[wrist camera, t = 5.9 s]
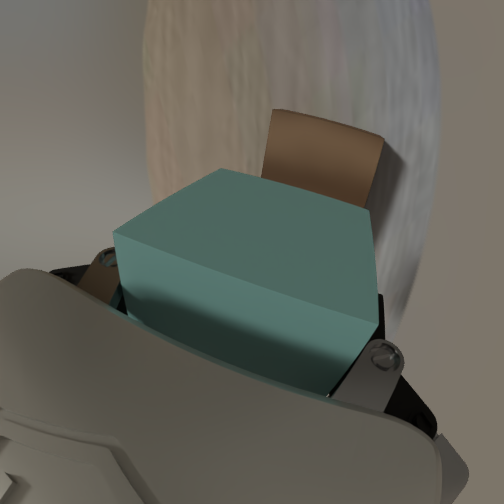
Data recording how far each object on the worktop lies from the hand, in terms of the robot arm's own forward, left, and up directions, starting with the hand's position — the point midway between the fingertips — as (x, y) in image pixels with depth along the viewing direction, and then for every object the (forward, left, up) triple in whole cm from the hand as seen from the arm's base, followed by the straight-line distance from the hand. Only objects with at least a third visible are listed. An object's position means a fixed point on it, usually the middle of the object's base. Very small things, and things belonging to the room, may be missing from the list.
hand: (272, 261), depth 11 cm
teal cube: (0, 0, -1) cm, 1 cm away
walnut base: (0, 0, -16) cm, 16 cm away
